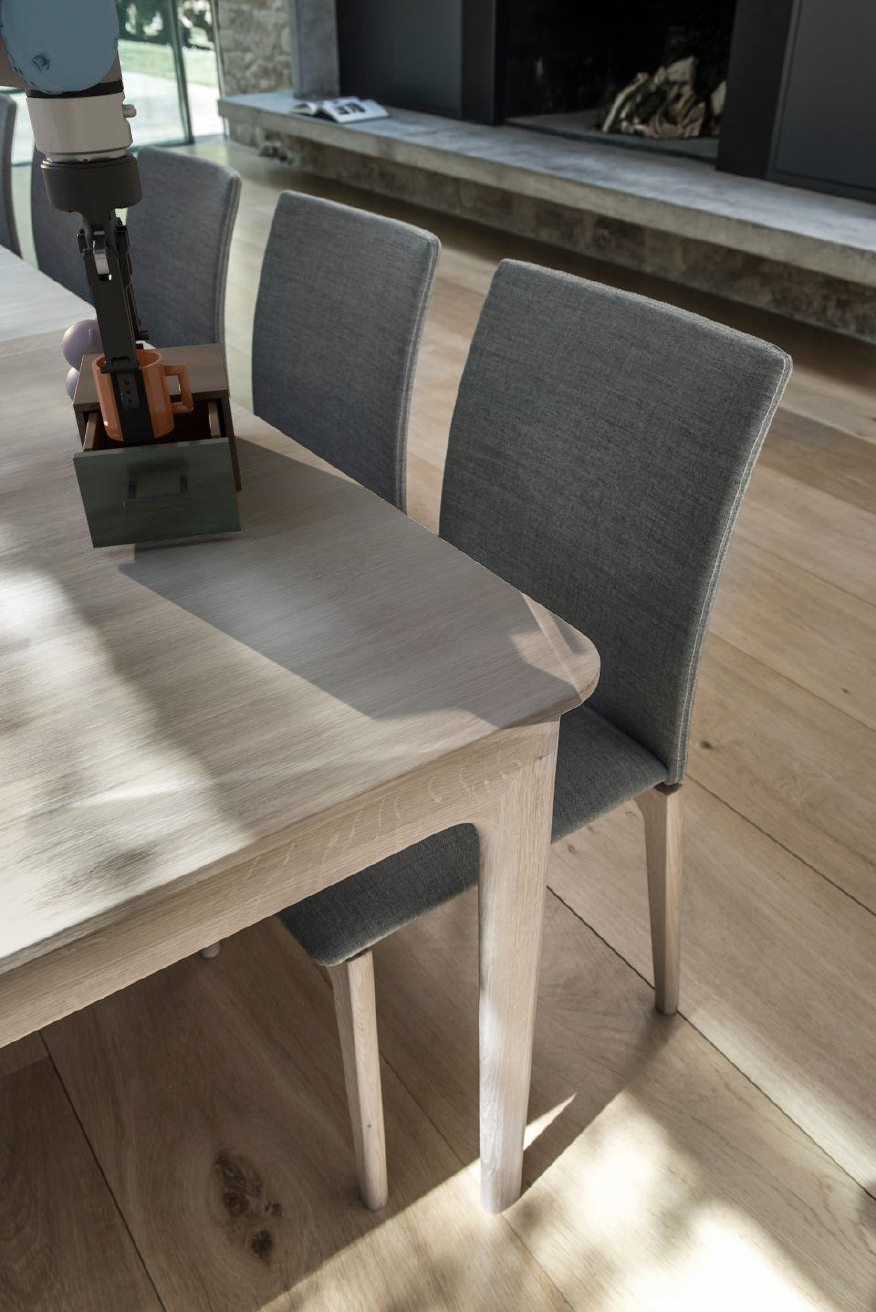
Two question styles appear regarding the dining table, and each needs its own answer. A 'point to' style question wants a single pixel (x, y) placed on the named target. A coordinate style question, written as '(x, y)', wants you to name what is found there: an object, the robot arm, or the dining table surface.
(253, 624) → the dining table surface
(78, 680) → the dining table surface
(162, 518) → the drawer
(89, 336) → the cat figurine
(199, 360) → the cabinet
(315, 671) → the dining table surface
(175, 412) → the mug
